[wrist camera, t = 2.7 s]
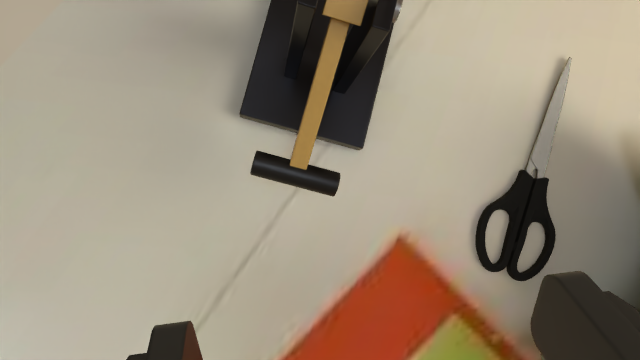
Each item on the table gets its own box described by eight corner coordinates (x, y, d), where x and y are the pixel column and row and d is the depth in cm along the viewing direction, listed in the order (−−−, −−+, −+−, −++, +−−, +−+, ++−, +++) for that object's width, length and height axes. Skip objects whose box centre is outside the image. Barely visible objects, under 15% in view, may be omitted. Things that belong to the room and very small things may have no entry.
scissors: (529, 44, 40) (465, 263, 38) (535, 40, 39) (469, 264, 37) (595, 71, 41) (536, 287, 39) (603, 68, 40) (543, 289, 38)
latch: (332, 189, 31) (334, 202, 28) (252, 167, 30) (248, 180, 28) (398, -15, 26) (406, -19, 24) (307, -45, 26) (306, -51, 23)
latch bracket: (359, 150, 37) (418, 114, 23) (240, 117, 36) (228, 58, 22) (393, 14, 38) (468, -95, 25) (278, -22, 37) (290, -158, 24)
